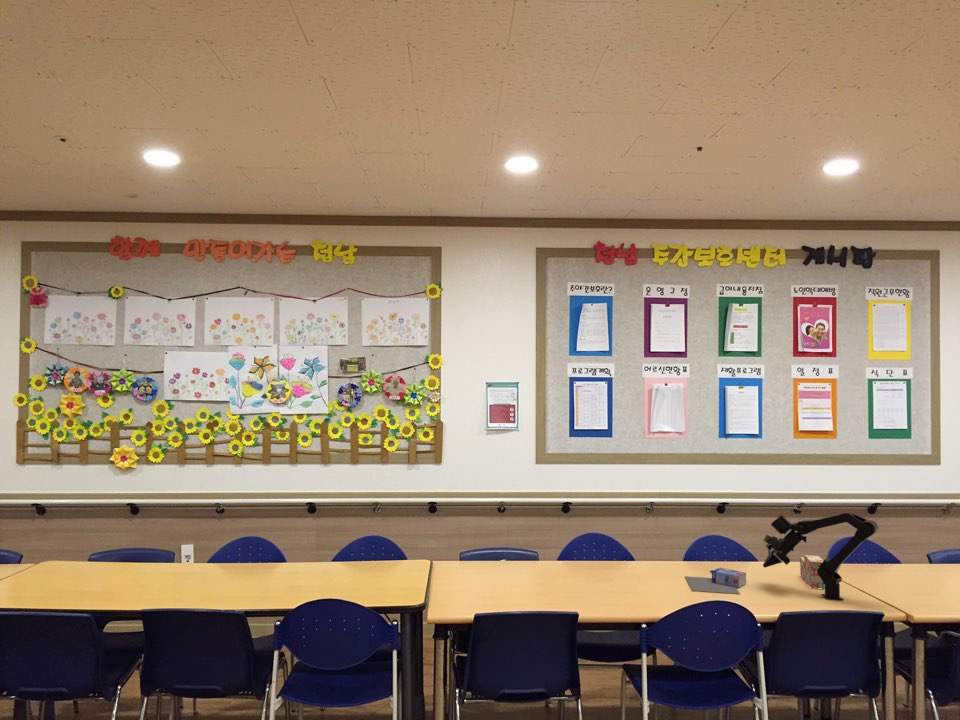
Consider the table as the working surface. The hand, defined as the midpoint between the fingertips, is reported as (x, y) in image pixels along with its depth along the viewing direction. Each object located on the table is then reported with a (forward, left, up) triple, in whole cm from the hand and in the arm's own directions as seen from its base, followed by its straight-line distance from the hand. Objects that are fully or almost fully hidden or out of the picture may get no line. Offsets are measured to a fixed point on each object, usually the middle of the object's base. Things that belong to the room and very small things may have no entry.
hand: (763, 566), depth 296 cm
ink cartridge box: (+2, +8, -7) cm, 11 cm away
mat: (0, +22, -10) cm, 24 cm away
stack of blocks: (+16, -25, -10) cm, 31 cm away
